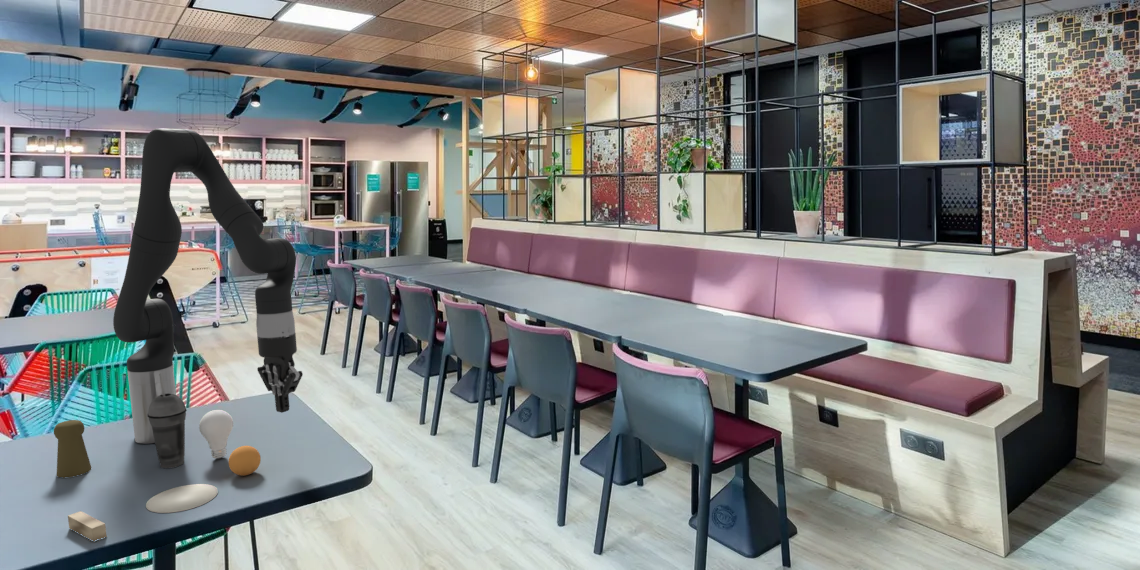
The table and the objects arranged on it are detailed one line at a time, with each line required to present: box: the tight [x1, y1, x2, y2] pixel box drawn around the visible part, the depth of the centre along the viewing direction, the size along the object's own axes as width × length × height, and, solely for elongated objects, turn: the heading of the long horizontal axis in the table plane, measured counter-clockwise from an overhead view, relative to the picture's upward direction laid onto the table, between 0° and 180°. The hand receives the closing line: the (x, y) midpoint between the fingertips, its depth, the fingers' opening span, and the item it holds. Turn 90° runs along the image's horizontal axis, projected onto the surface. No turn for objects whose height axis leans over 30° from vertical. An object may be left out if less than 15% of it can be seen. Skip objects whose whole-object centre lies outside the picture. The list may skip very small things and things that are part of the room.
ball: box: [228, 445, 261, 477], centre depth 143 cm, size 6×6×6 cm
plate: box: [145, 483, 219, 514], centre depth 132 cm, size 12×12×1 cm
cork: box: [53, 419, 92, 479], centre depth 145 cm, size 6×6×11 cm
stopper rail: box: [67, 510, 108, 541], centre depth 119 cm, size 9×2×2 cm, turn 57°
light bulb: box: [198, 409, 234, 460], centre depth 151 cm, size 7×7×11 cm
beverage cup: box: [148, 373, 188, 469], centre depth 148 cm, size 7×7×20 cm
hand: (283, 411), depth 149 cm, fingers closed
